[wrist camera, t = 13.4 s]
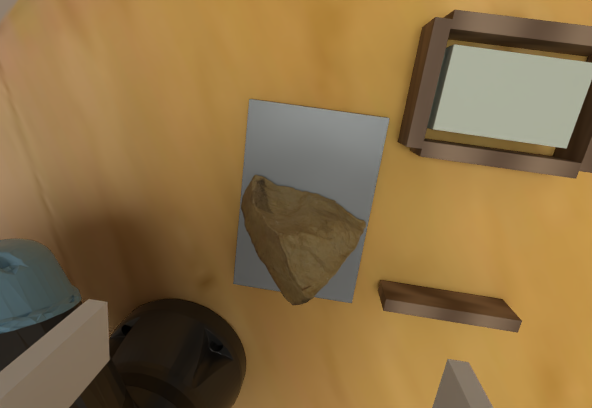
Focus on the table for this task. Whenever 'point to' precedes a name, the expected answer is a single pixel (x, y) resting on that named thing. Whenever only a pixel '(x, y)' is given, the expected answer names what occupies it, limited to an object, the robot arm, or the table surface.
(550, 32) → the brown frame and bar
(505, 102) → the pale grey-green block
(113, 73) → the table surface
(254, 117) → the board
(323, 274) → the rock
